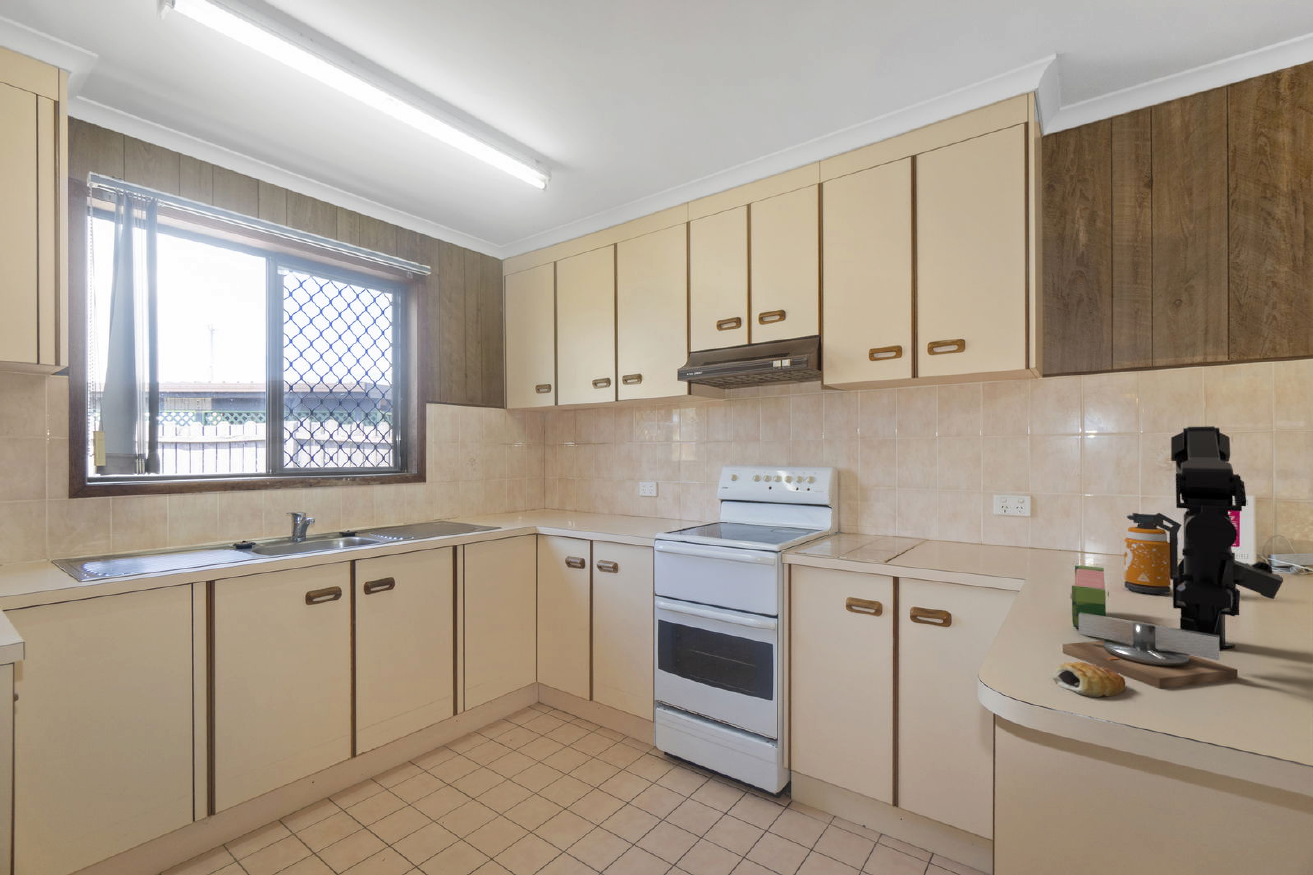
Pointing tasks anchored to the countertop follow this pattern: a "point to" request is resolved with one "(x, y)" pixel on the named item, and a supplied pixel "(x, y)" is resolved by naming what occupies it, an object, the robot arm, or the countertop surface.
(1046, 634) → the countertop surface
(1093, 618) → the silver metal stand
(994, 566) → the countertop surface
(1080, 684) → the pastry
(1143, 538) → the canister
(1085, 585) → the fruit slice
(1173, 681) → the dial board
